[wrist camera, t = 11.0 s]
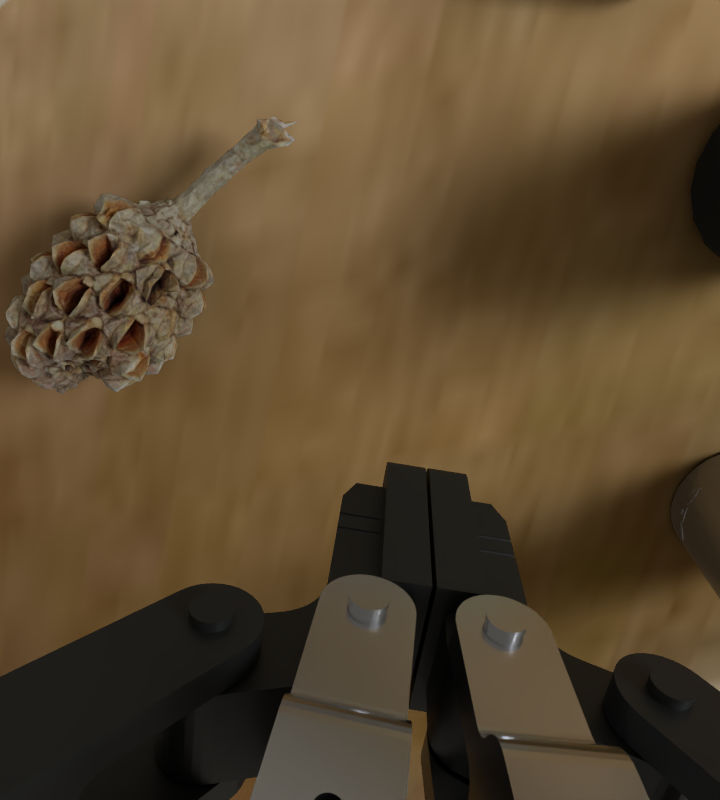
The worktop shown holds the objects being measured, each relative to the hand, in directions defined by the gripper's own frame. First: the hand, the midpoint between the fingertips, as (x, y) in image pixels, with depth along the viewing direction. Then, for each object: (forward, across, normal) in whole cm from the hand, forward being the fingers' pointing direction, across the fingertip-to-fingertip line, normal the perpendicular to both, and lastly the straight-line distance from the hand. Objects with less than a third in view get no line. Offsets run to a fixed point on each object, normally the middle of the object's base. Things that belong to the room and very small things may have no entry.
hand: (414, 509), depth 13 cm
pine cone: (+32, +15, +2) cm, 35 cm away
